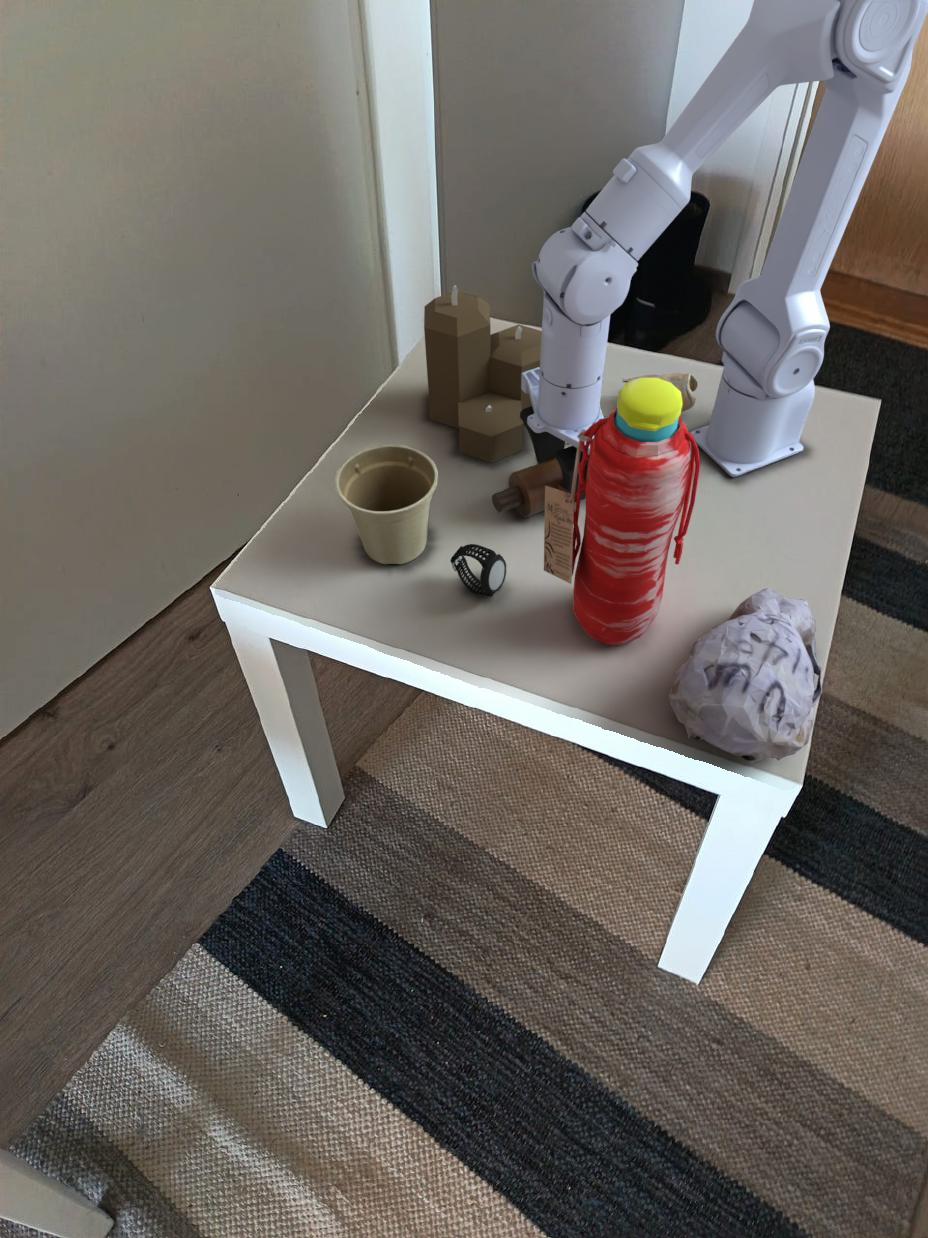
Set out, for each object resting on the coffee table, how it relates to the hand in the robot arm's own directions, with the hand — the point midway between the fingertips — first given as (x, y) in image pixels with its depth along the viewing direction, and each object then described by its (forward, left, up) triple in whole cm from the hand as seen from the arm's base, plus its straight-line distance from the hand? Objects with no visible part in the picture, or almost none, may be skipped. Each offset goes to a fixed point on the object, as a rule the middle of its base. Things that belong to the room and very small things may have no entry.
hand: (561, 483), depth 87 cm
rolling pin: (0, 0, +1) cm, 1 cm away
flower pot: (+18, -2, -2) cm, 18 cm away
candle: (+1, -16, -2) cm, 16 cm away
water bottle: (+5, +16, -2) cm, 17 cm away
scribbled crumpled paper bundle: (-1, +29, -2) cm, 29 cm away
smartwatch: (+13, +7, -2) cm, 15 cm away
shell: (-17, -8, -2) cm, 19 cm away
